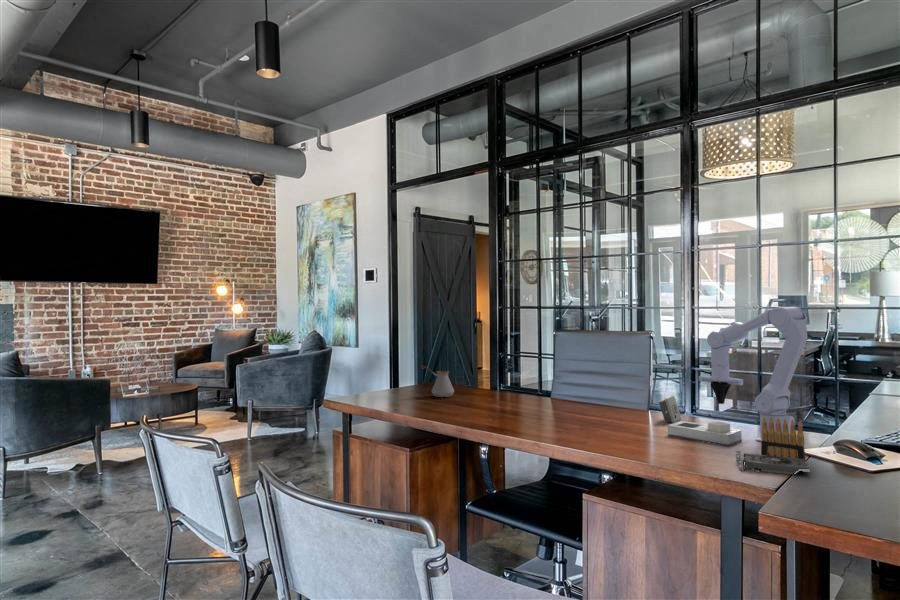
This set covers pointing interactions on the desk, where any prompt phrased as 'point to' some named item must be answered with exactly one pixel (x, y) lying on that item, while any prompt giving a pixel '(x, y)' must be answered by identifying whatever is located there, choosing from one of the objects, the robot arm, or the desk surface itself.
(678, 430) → the socket plate
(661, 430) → the desk surface
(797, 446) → the ammunition clip
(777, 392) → the robot arm
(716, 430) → the plug
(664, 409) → the electrical switch
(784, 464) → the graphics card
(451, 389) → the coffee pot
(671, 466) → the desk surface
